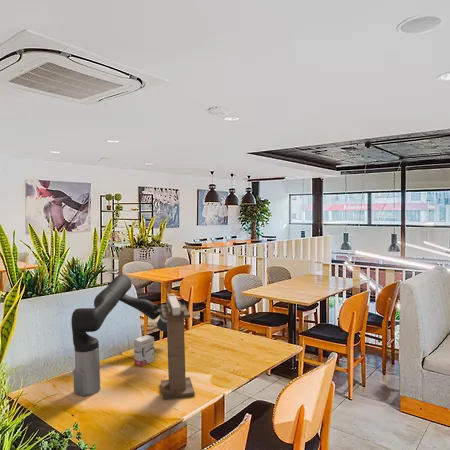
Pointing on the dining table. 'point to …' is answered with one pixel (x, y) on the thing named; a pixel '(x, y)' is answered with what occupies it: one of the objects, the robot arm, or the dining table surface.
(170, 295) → the cream white long bar
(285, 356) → the dining table surface
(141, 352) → the ink box
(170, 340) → the wooden pedestal post
